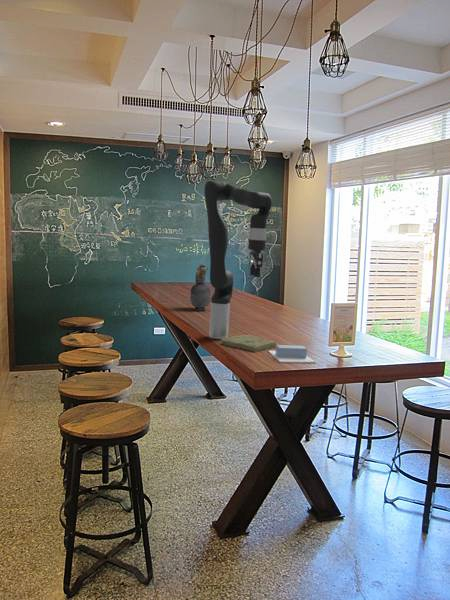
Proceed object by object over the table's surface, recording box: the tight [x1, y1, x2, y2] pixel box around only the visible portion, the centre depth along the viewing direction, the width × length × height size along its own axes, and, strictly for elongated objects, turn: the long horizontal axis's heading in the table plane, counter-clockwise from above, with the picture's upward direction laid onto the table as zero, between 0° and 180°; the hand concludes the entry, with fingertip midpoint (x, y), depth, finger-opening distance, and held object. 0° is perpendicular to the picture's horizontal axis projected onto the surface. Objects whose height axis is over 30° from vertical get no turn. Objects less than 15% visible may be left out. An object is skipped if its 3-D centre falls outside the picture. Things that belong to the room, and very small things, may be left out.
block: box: [275, 344, 308, 358], centre depth 226 cm, size 12×6×4 cm, turn 96°
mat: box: [267, 349, 316, 364], centre depth 226 cm, size 19×15×1 cm
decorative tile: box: [220, 334, 277, 353], centre depth 245 cm, size 19×20×4 cm
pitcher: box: [189, 263, 212, 312], centre depth 343 cm, size 11×19×30 cm, turn 20°
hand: (254, 276), depth 232 cm, fingers open, 8 cm apart
